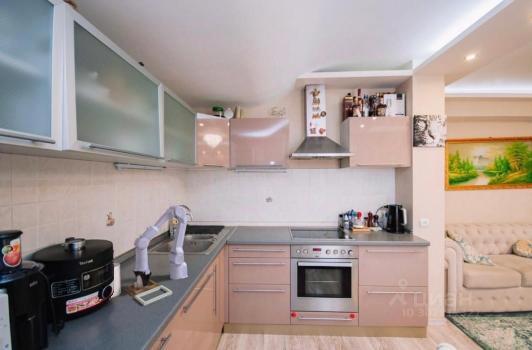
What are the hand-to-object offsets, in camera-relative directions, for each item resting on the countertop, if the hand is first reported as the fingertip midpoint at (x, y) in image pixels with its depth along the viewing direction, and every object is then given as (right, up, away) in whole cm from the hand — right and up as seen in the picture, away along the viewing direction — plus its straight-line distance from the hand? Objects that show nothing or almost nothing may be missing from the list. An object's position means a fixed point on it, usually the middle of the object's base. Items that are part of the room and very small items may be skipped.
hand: (142, 284), depth 130 cm
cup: (-13, -4, -6) cm, 15 cm away
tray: (+10, -3, -9) cm, 14 cm away
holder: (0, -3, 0) cm, 3 cm away
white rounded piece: (0, -2, 0) cm, 2 cm away
